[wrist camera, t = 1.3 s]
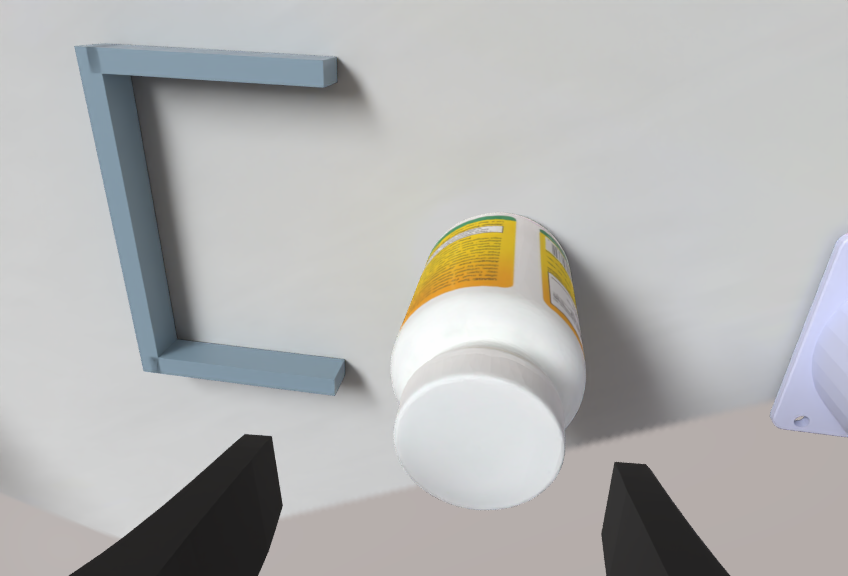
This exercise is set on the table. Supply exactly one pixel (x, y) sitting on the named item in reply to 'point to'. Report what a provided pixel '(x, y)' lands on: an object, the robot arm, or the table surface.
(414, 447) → the supplement bottle
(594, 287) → the table surface
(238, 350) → the blue-grey u-shaped bracket
